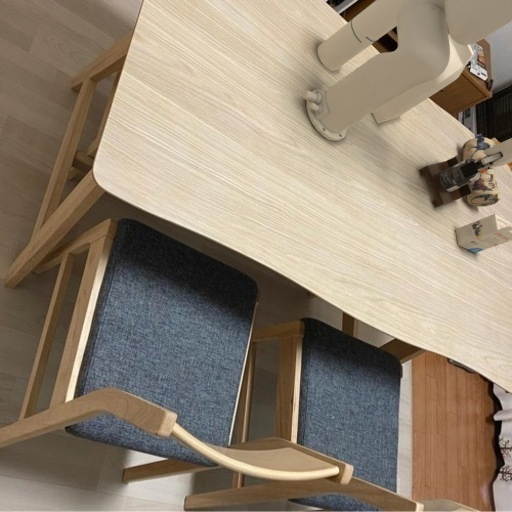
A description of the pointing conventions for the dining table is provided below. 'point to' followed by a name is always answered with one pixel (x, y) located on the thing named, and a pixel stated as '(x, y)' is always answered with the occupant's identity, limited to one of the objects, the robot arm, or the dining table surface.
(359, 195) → the dining table surface
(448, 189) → the pill bottle
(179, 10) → the dining table surface
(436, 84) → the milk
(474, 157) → the pencil case
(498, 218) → the ink box
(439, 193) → the shelf
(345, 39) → the cylindrical container
